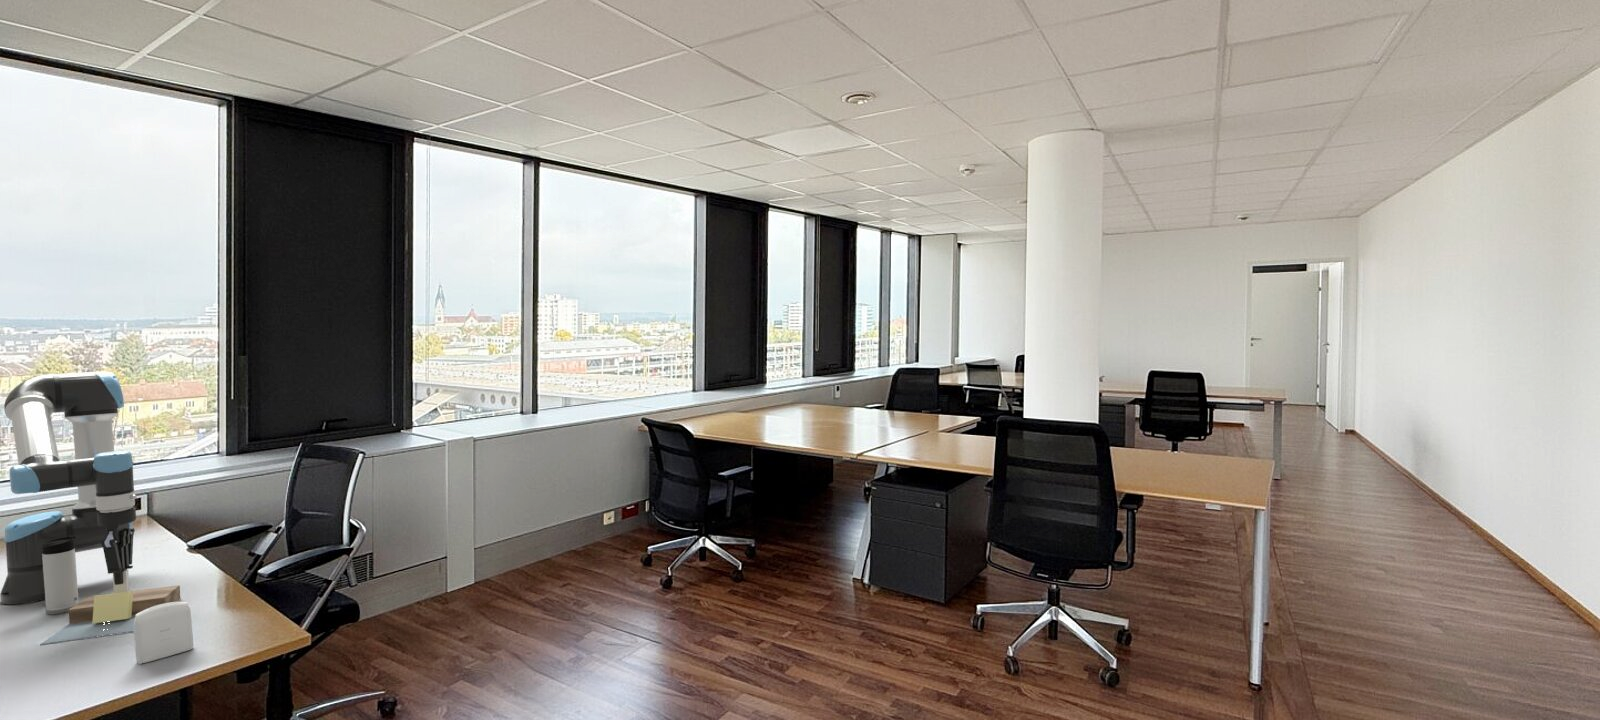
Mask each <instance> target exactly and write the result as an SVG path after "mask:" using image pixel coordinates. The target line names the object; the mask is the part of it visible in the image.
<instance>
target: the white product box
mask: <svg viewBox="0 0 1600 720" xmlns="http://www.w3.org/2000/svg"><path fill="white" fill-rule="evenodd" d="M191 610H192V609H191V607H190V606H189V603H188V602H187V601H177V602H170V603H164V604H160V605H156V606H153V607H150V608H148V609H145V610H143V611H141V612H139V613H137V614H136V615H135V619H134V632H133V634H134V637H133V638H134V645H135V646H134V647H135V648H134V649H135V658H136V663H137V664H138V665H143V664H145V663H148V662H149V663H150V662H152V661H156V660H160V659H164V658H167V657H171V656H173V655H177V654H180V653H183V652H187V651H191V650H193V649H194V635H193V621H192V611H191ZM142 663H143V664H142Z"/></svg>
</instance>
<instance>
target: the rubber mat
mask: <svg viewBox="0 0 1600 720" xmlns="http://www.w3.org/2000/svg"><path fill="white" fill-rule="evenodd" d="M134 619H135V615H132V616H131V618H129V619H122V620H115V621H110V622H105V625H103V624H104V623H103V622H100V623H93V624H92V621H86V622H78V623H71V624H69V623H68V624H67V625H65V626H64V627H63V628H61V629H60V630H58V631H57V632H55V633H54V634H53V635H51V636H50V637H48V638H47V639H45V640H44V641H42V642H41V643H40V645H39V646H44V645H45V646H46V645H51V644H59V643H65V641H67V642H71V640H74V641H78V640H77V639H81V640H85V639H84V638H88V639H92V638H91V637H95V638H98V637H97V636H102V635H109V636H111V635H110V634H116V635H120V634H119V633H123V634H127V633H126V632H130V633H134ZM108 623H110V624H108ZM103 629H105V630H104V631H103ZM107 629H108V630H107ZM117 633H118V634H117ZM102 637H103V636H102Z"/></svg>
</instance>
